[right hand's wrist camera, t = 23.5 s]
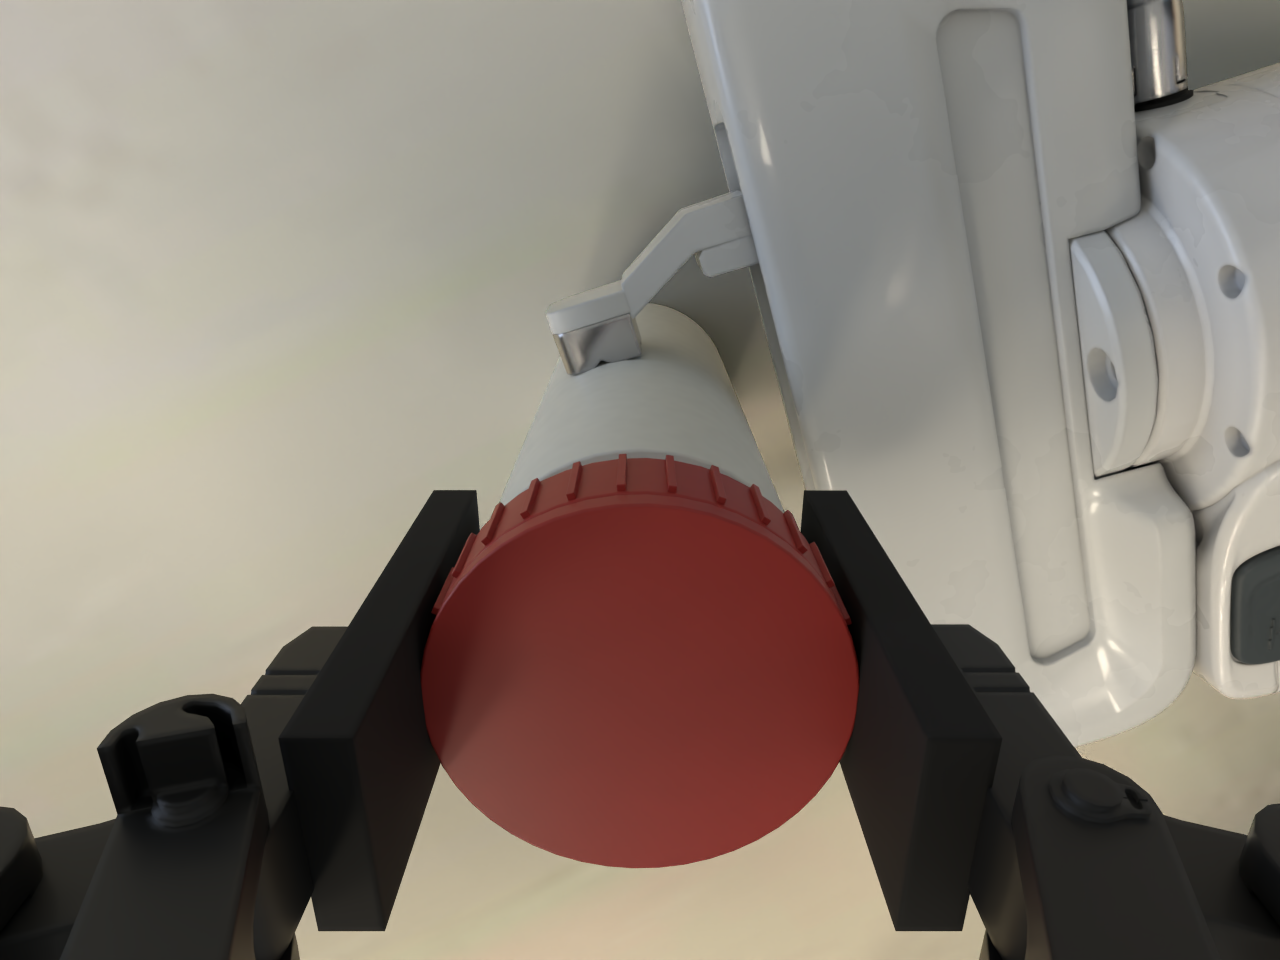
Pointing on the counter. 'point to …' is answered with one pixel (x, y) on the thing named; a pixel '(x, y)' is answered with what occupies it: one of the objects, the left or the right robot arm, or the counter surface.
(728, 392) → the jar
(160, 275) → the counter surface
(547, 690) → the lid
